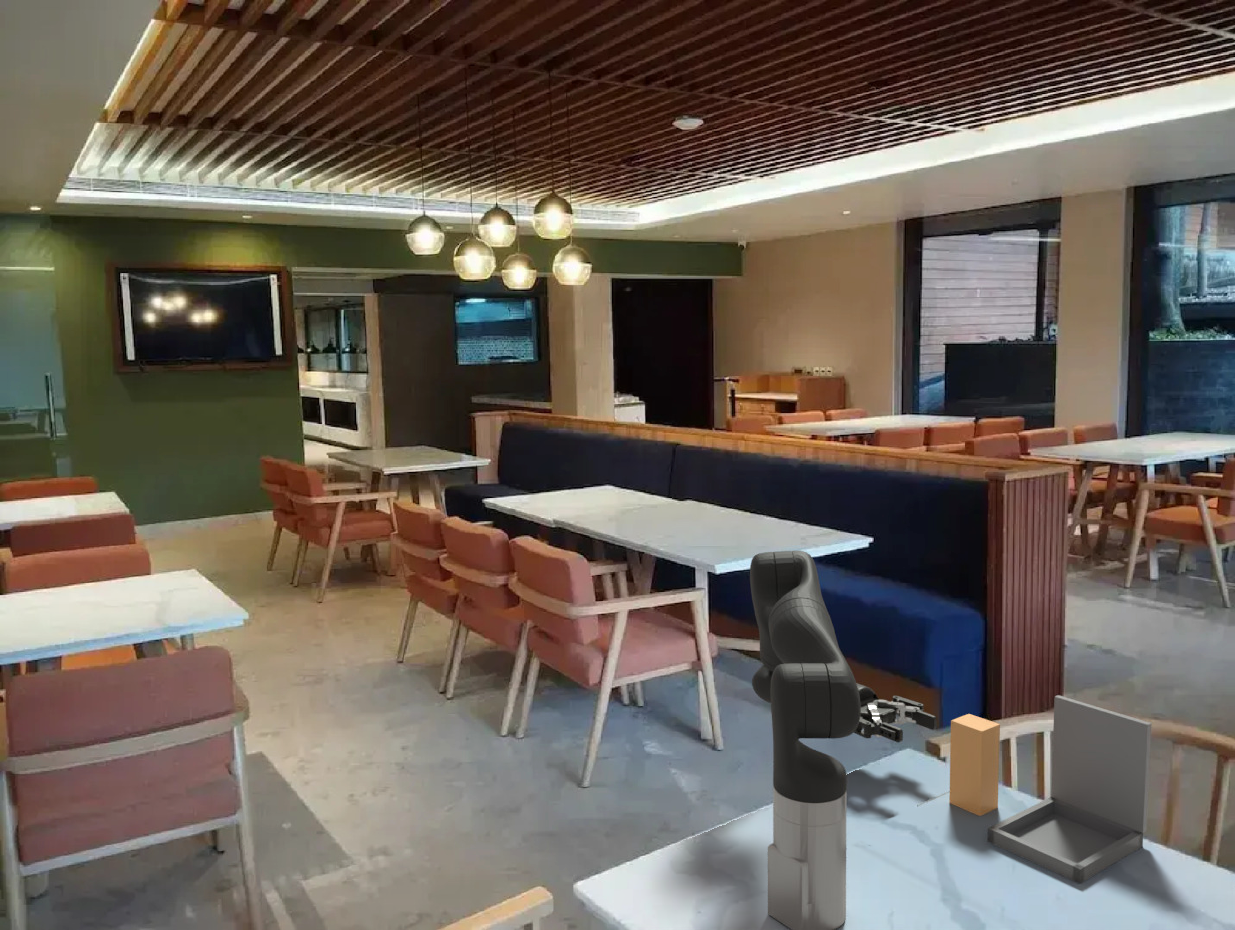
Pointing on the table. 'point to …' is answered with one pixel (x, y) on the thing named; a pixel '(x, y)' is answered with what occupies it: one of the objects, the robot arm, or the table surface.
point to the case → (1086, 794)
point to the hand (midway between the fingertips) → (918, 729)
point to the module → (974, 764)
